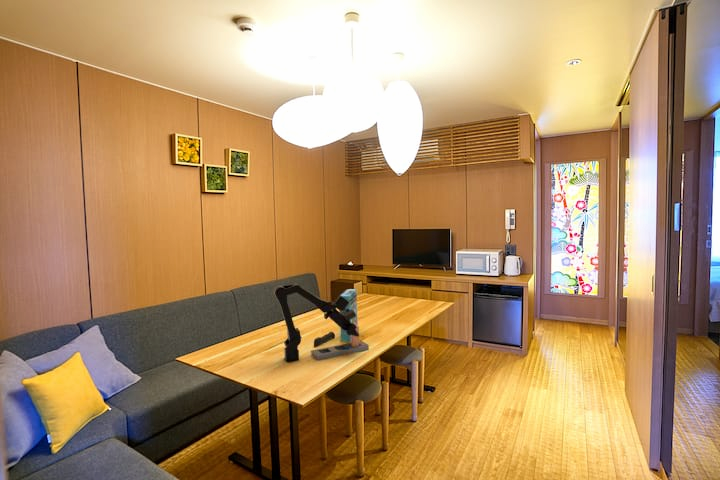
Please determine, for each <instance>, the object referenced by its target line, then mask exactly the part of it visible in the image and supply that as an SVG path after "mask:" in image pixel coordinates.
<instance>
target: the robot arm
mask: <svg viewBox="0 0 720 480" xmlns="http://www.w3.org/2000/svg"><path fill="white" fill-rule="evenodd" d="M296 293H297V294H299V295H300V296H302V297H303V298H305V299H306V300H308V301H309V302H311V303H312V304H313V305H315V306H316V308H317V309H319V310H320V311H321V312H322V313H323V318H324V319H325V320H328V319H330V320H332V321H333V322H334V323H335V324H336V325H337V326H338V327H339V329H341V328H342V329H343V330H345V332H346V333H347V334H348V335H349V336H350V335H354V336H359V337H360V333H359V334H358V333H357V331H356V330H355V329H356V328H357V326H356V325H355V324H353V323H351V322H350V320H351V319H352V318H354V317H356V314H355V312H354V310H351V309H350V310H349V309H346V310H345V314H344V315H343V314H341V313H340V311H343V310H344V309H345V308H346V307H347V306H348V304H349V302H348V301H347V300H346V299H345V298H343V297H342V296H341V294H340V295H339V296H338V297H337V298H336V300H335V301H327V300H326V299H323V298H321V297H318V296H316V295H315V294H313V293H311V292H310V291H308V290H307V289H305V288H303V287H302V286H301V285H299V284H298V283H293V284H287V285H276V286H275V287H274V288H273V294H274V296H275V298H276V300H277V302H278V303H279V307H280V310H281V313H282V316H283V319H284V322H285V325H286V326H285V327H286V329H287V330H286V332H287V333H286V334H287V338H286V339H285V341H284V342H283V344H284V346H285V347H284V357H283V359H284V361H285V362H286V363H291V362H297V361H299V360H300V350H299V349H298V348H299V346H300V344H301V343H302V339H303V337H302V335H301V331H300V329H299V328H298V327H295V324H294V323H295V322H294V321H293V317H292V313H291V311H290V307H289V304H288V296H290V295H293V294H296ZM337 309H338V310H337Z"/></svg>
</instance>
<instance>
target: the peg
mask: <svg viewBox="0 0 720 480" xmlns="http://www.w3.org/2000/svg"><path fill="white" fill-rule="evenodd" d="M356 326H357V325H356ZM355 330H356V331H357V333H358V334H359V336H354V335H351V341H350V343H351V346H352V347H356V346H359V341H360V329H359V326H357V328H356V329H355Z"/></svg>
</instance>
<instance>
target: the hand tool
mask: <svg viewBox="0 0 720 480" xmlns="http://www.w3.org/2000/svg"><path fill="white" fill-rule="evenodd" d="M334 338H336V334H335V332H333V331H329V332H327V334H324V335H323V336H320V337H319V336H318V337H316V338H315V339H314V341H313V348H317V347H319V346H321V345H322V344H323V343H326V342H327V341H330V340H331V339H334Z"/></svg>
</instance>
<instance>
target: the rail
mask: <svg viewBox="0 0 720 480" xmlns="http://www.w3.org/2000/svg"><path fill="white" fill-rule="evenodd" d="M369 349H370V347H369V344H368V343H366V342H365V341H362V340H359V346H356V347H352V346H351V342H346V343H342V344H337V345H332V346H327V347H323V348H317V349H313V350H311V351H310V355H311V357H313V359H315V360H316V361H322V360H326V359H333V358H336V357H340V356H345V355H346V356H347V355H350V354H353V353H354V354H355V353H359V352H364V351H368V350H369Z"/></svg>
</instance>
